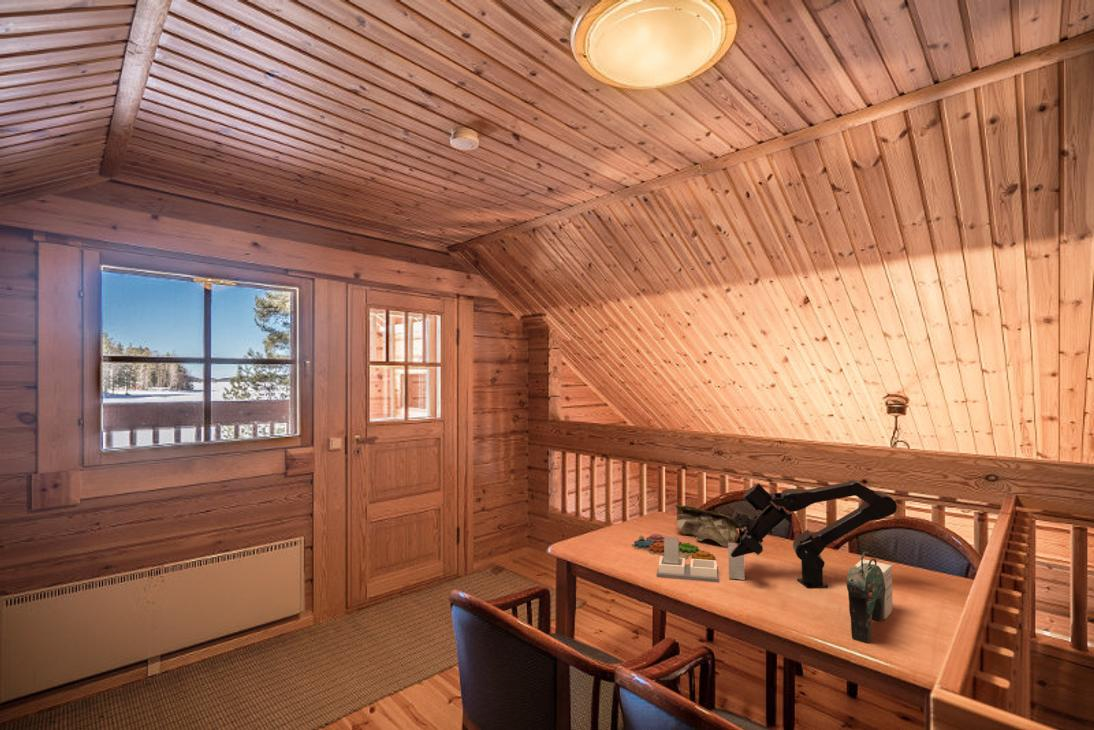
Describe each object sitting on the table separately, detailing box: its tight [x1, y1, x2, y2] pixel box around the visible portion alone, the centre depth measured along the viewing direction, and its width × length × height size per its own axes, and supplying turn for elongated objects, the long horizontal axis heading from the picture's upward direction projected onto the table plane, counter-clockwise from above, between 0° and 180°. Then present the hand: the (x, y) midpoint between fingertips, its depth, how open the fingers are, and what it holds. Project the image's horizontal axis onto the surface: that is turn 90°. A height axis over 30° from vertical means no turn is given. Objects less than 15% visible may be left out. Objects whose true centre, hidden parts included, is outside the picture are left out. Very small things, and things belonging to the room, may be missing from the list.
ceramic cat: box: [846, 551, 886, 644], centre depth 136 cm, size 20×6×20 cm, turn 135°
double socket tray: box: [656, 555, 720, 583], centre depth 175 cm, size 19×11×4 cm, turn 73°
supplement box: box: [854, 558, 893, 620], centre depth 145 cm, size 7×7×13 cm
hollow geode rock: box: [674, 504, 743, 549], centre depth 209 cm, size 28×13×15 cm
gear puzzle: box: [631, 533, 717, 561], centre depth 196 cm, size 31×16×4 cm, turn 40°
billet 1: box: [664, 535, 680, 565], centre depth 177 cm, size 4×4×10 cm
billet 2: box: [727, 542, 746, 581], centre depth 171 cm, size 4×4×10 cm
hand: (731, 553), depth 171 cm, fingers closed on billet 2, 4 cm apart
